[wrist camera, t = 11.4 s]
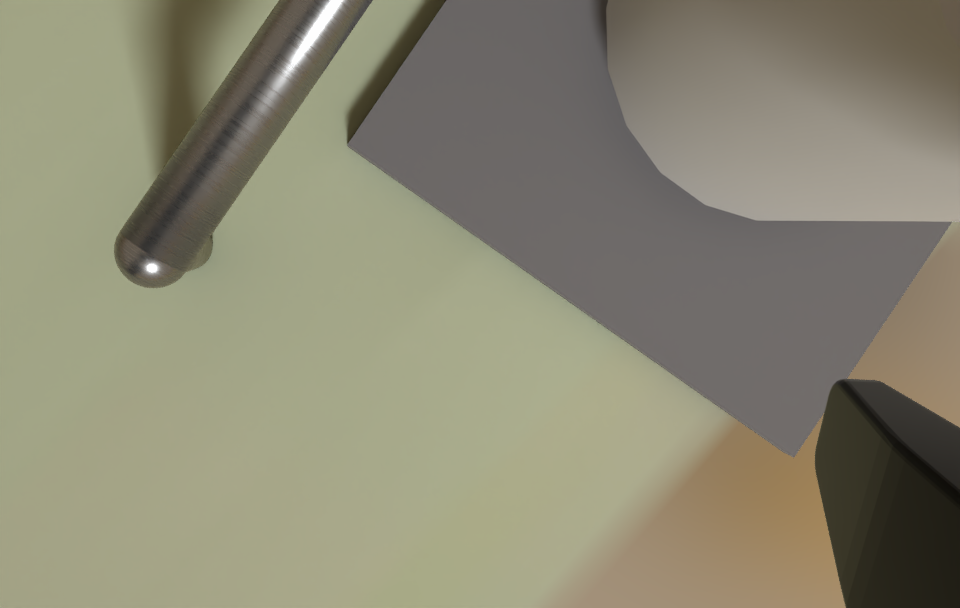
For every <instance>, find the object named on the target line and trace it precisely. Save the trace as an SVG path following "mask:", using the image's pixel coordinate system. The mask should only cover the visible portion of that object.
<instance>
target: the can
mask: <svg viewBox="0 0 960 608" xmlns="http://www.w3.org/2000/svg"><path fill="white" fill-rule="evenodd" d="M606 22H607V61H608V71H609V74H610V77H611V80H612V83H613V86H614V89H615V92H616V95H617V98H618V101H619V104H620V107H621V111H622V114H623V117H624V120H625V123H626V126H627V127H628V128H629V130H630V131H631V133H632V134H633V135H634V137H635V138H636V140H637V141H638V142H639V144H640V145H641V146H642V148H643V149H644V151H645V152H646V153H647V155H648V156H649V158H650V159H651V160H652V162H653V163H654V164H655V166H656V167H657V169H658V170H659V171H660V173H662V174H663V175H664V176H666V177H667V178H669V179H670V180H671V181H673V182H674V183H675V184H677V185H678V186H680V187H681V188H682V189H684V190H685V191H686V192H688V193H689V194H691V195H692V196H693V197H695V198H696V199H698V200H699V201H700V202H702V203H703V204H704V205H707V206H710V207H713V208H717V209H720V210H723V211H726V212H730V213H733V214H736V215H740V216H743V217H746V218H750V219H753V220H756V221H929V222H960V0H608V3H607V7H606Z"/></svg>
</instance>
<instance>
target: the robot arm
mask: <svg viewBox="0 0 960 608" xmlns="http://www.w3.org/2000/svg"><path fill="white" fill-rule="evenodd" d="M815 469H816V475H817V480H818V484H819V489H820V494H821V498H822V503H823V507H824V512H825V516H826V521H827V526H828V530H829V535H830V540H831V544H832V549H833V553H834V557H835V563H836V567H837V572H838V576H839V581H840V585H841V589H842V593H843V598H844V602H845V606H846V608H960V428H959V427H958V426H956V425H954V424H952V423H951V422H949V421H947V420H946V419H944V418H942V417H940V416H939V415H937V414H935V413H934V412H932V411H930V410H929V409H927V408H925V407H923V406H922V405H920V404H918V403H917V402H915V401H913V400H912V399H910V398H908V397H906V396H905V395H903V394H901V393H899V392H898V391H896V390H895V389H893V388H891V387H889V386H888V385H886V384H884V383H882V382H880V381H875V380H858V379H840V380H838V381H836V382H835V383H834V384H833V386H832V388H831V390H830V392H829V396H828V400H827V404H826V408H825V412H824V417H823V421H822V425H821V429H820V433H819V437H818V441H817V446H816V451H815Z"/></svg>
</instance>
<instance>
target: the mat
mask: <svg viewBox="0 0 960 608" xmlns="http://www.w3.org/2000/svg"><path fill="white" fill-rule="evenodd" d="M607 3H608V0H446V1H445V3H444V4H443V6H442V7H441V9H440V10H439V12H438V13H437V15H436V16H435V18H434V19H433V20H432V22H431V23H430V25H429V26H428V28H427V29H426V31H425V32H424V34H423V35H422V36H421V38H420V39H419V41H418V42H417V44H416V45H415V47H414V48H413V50H412V51H411V52H410V54H409V55H408V57H407V58H406V60H405V61H404V63H403V64H402V66H401V67H400V69H399V70H398V71H397V73H396V74H395V76H394V77H393V79H392V80H391V82H390V83H389V85H388V86H387V87H386V89H385V90H384V92H383V93H382V95H381V96H380V98H379V99H378V101H377V102H376V104H375V105H374V106H373V108H372V109H371V111H370V112H369V114H368V115H367V117H366V118H365V120H364V121H363V122H362V124H361V125H360V127H359V128H358V130H357V131H356V133H355V134H354V136H353V137H352V139H351V140H350V141H349V143H348V145H347V146H348V147H349V148H351V149H352V150H354V151H355V152H356V153H358V154H359V155H361V156H362V157H364V158H365V159H366V160H368V161H369V162H371V163H372V164H374V165H375V166H376V167H378V168H379V169H381V170H382V171H383V172H385V173H386V174H388V175H389V176H391V177H392V178H393V179H395V180H396V181H398V182H399V183H401V184H402V185H403V186H405V187H406V188H408V189H409V190H411V191H412V192H413V193H415V194H416V195H418V196H419V197H421V198H422V199H423V200H425V201H426V202H428V203H429V204H430V205H432V206H433V207H435V208H436V209H438V210H439V211H440V212H442V213H443V214H445V215H446V216H448V217H449V218H450V219H452V220H453V221H455V222H456V223H458V224H459V225H460V226H462V227H463V228H465V229H466V230H468V231H469V232H470V233H472V234H473V235H475V236H476V237H477V238H479V239H480V240H482V241H483V242H485V243H486V244H487V245H489V246H490V247H492V248H493V249H495V250H496V251H497V252H499V253H500V254H502V255H503V256H505V257H506V258H507V259H509V260H510V261H512V262H513V263H515V264H516V265H517V266H519V267H520V268H522V269H523V270H524V271H526V272H527V273H529V274H530V275H532V276H533V277H534V278H536V279H537V280H539V281H540V282H542V283H543V284H544V285H546V286H547V287H549V288H550V289H552V290H553V291H554V292H556V293H557V294H559V295H560V296H562V297H563V298H564V299H566V300H567V301H569V302H570V303H572V304H573V305H574V306H576V307H577V308H579V309H580V310H581V311H583V312H584V313H586V314H587V315H589V316H590V317H591V318H593V319H594V320H596V321H597V322H599V323H600V324H601V325H603V326H604V327H606V328H607V329H609V330H610V331H611V332H613V333H614V334H616V335H617V336H619V337H620V338H621V339H623V340H624V341H626V342H627V343H628V344H630V345H631V346H633V347H634V348H636V349H637V350H638V351H640V352H641V353H643V354H644V355H646V356H647V357H648V358H650V359H651V360H653V361H654V362H656V363H657V364H658V365H660V366H661V367H663V368H664V369H666V370H667V371H668V372H670V373H671V374H673V375H674V376H675V377H677V378H678V379H680V380H681V381H683V382H684V383H685V384H687V385H688V386H690V387H691V388H693V389H694V390H695V391H697V392H698V393H700V394H701V395H703V396H704V397H705V398H707V399H708V400H710V401H711V402H713V403H714V404H715V405H717V406H718V407H720V408H721V409H723V410H724V411H725V412H727V413H728V414H730V415H731V416H732V417H734V418H735V419H737V420H738V421H740V422H741V423H742V424H744V425H745V426H747V427H748V428H750V429H751V430H753V431H754V432H755V433H757V434H758V435H760V436H761V437H762V438H764V439H765V440H767V441H768V442H770V443H771V444H772V445H774V446H775V447H777V448H778V449H779V450H781V451H782V452H784V453H786V454H788V455H790V456H792V457H795V455H796V454H797V452H798V451H799V449H800V448H801V446H802V445H803V443H804V442H805V440H806V439H807V437H808V436H809V434H810V433H811V431H812V430H813V428H814V427H815V425H816V424H817V422H818V421H819V419H820V418H821V416H822V415H823V413H824V412H825V408H826V404H827V400H828V396H829V392H830V390H831V388H832V386H833V384H834V383H835V382H836V381H838V380H840V379H847V378H848V376H849V375H850V373H851V372H852V370H853V369H854V367H855V366H856V364H857V363H858V361H859V360H860V358H861V357H862V355H863V354H864V352H865V351H866V349H867V348H868V346H869V345H870V343H871V342H872V340H873V339H874V337H875V336H876V334H877V333H878V332H879V330H880V328H881V327H882V326H883V324H884V323H885V321H886V320H887V318H888V317H889V315H890V314H891V312H892V311H893V309H894V308H895V306H896V305H897V303H898V302H899V300H900V299H901V297H902V296H903V294H904V293H905V291H906V290H907V288H908V287H909V285H910V284H911V282H912V281H913V279H914V278H915V276H916V275H917V273H918V272H919V270H920V269H921V267H922V266H923V264H924V263H925V261H926V260H927V258H928V257H929V256H930V254H931V253H932V251H933V250H934V248H935V247H936V245H937V244H938V242H939V241H940V239H941V238H942V236H943V235H944V233H945V232H946V230H947V229H948V227H949V226H950V224H951V223H952V222H929V221H756V220H753V219H750V218H746V217H743V216H740V215H736V214H733V213H730V212H726V211H723V210H720V209H717V208H713V207H710V206H707V205H704V204H703V203H702V202H700V201H699V200H698V199H696V198H695V197H693V196H692V195H691V194H689V193H688V192H686V191H685V190H684V189H682V188H681V187H680V186H678V185H677V184H675V183H674V182H673V181H671V180H670V179H669V178H667V177H666V176H664V175H663V174H662V173H660V171H659V170H658V169H657V167H656V166H655V164H654V163H653V162H652V160H651V159H650V158H649V156H648V155H647V153H646V152H645V151H644V149H643V148H642V146H641V145H640V144H639V142H638V141H637V140H636V138H635V137H634V135H633V134H632V133H631V131H630V130H629V128H628V127H627V126H626V123H625V120H624V117H623V114H622V111H621V107H620V104H619V101H618V98H617V95H616V92H615V89H614V86H613V83H612V80H611V77H610V74H609V71H608V61H607V22H606V7H607Z"/></svg>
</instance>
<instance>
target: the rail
mask: <svg viewBox="0 0 960 608" xmlns="http://www.w3.org/2000/svg"><path fill="white" fill-rule="evenodd" d="M372 1H373V0H279V1H278V3H277V4H276V6H275V7H274V9H273V10H272V11H271V13H270V14H269V16H268V17H267V19H266V20H265V22H264V23H263V25H262V26H261V27H260V29H259V30H258V32H257V33H256V35H255V36H254V38H253V39H252V40H251V42H250V43H249V45H248V46H247V48H246V49H245V51H244V52H243V54H242V55H241V56H240V58H239V59H238V61H237V62H236V64H235V65H234V67H233V68H232V69H231V71H230V72H229V74H228V75H227V77H226V78H225V80H224V81H223V83H222V84H221V85H220V87H219V88H218V90H217V91H216V93H215V94H214V96H213V97H212V98H211V100H210V101H209V103H208V104H207V106H206V107H205V109H204V110H203V112H202V113H201V114H200V116H199V117H198V119H197V120H196V122H195V123H194V125H193V126H192V127H191V129H190V130H189V132H188V133H187V135H186V136H185V138H184V139H183V141H182V142H181V143H180V145H179V146H178V148H177V149H176V151H175V152H174V154H173V155H172V156H171V158H170V159H169V161H168V162H167V164H166V165H165V167H164V168H163V170H162V171H161V172H160V174H159V175H158V177H157V178H156V180H155V181H154V183H153V184H152V185H151V187H150V188H149V190H148V191H147V193H146V194H145V196H144V197H143V199H142V200H141V201H140V203H139V204H138V206H137V207H136V209H135V210H134V212H133V213H132V214H131V216H130V217H129V219H128V220H127V222H126V223H125V225H124V226H123V228H122V229H121V230H120V232H119V234H118V236H117V238H116V241H115V245H114V255H115V260H116V263H117V266H118V268H119V269H120V271H121V272H122V274H123V275H124V276H125V277H126V278H127V279H129V280H130V281H131V282H133V283H135V284H137V285H140V286H143V287H147V288H161V287H165V286H168V285H171V284H172V283H174V282H176V281H177V280H179V279H180V278H181V277H182V276H183V275H184V273H185V272H188V271H191V270H193V269H196V268H199V267H200V266H202V265H203V264H205V263H206V262H207V260H208V259H209V257H210V255H211V252H212V239H211V235H212V233H213V232H214V230H215V229H216V227H217V226H218V225H219V223H220V222H221V220H222V219H223V217H224V216H225V214H226V213H227V211H228V210H229V209H230V207H231V206H232V204H233V203H234V201H235V200H236V198H237V197H238V195H239V194H240V193H241V191H242V190H243V188H244V187H245V185H246V184H247V182H248V181H249V179H250V178H251V177H252V175H253V174H254V172H255V171H256V169H257V168H258V166H259V165H260V163H261V162H262V161H263V159H264V158H265V156H266V155H267V153H268V152H269V150H270V149H271V147H272V146H273V145H274V143H275V142H276V140H277V139H278V137H279V136H280V134H281V133H282V131H283V130H284V129H285V127H286V126H287V124H288V123H289V121H290V120H291V118H292V117H293V115H294V114H295V113H296V111H297V110H298V108H299V107H300V105H301V104H302V102H303V101H304V99H305V98H306V97H307V95H308V94H309V92H310V91H311V89H312V88H313V86H314V85H315V83H316V82H317V81H318V79H319V78H320V76H321V75H322V73H323V72H324V70H325V69H326V67H327V66H328V65H329V63H330V62H331V60H332V59H333V57H334V56H335V54H336V53H337V51H338V50H339V49H340V47H341V46H342V44H343V43H344V41H345V40H346V38H347V37H348V35H349V34H350V33H351V31H352V30H353V28H354V27H355V25H356V24H357V22H358V21H359V19H360V18H361V17H362V15H363V14H364V12H365V11H366V9H367V8H368V6H369V5H370V3H371V2H372Z"/></svg>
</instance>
